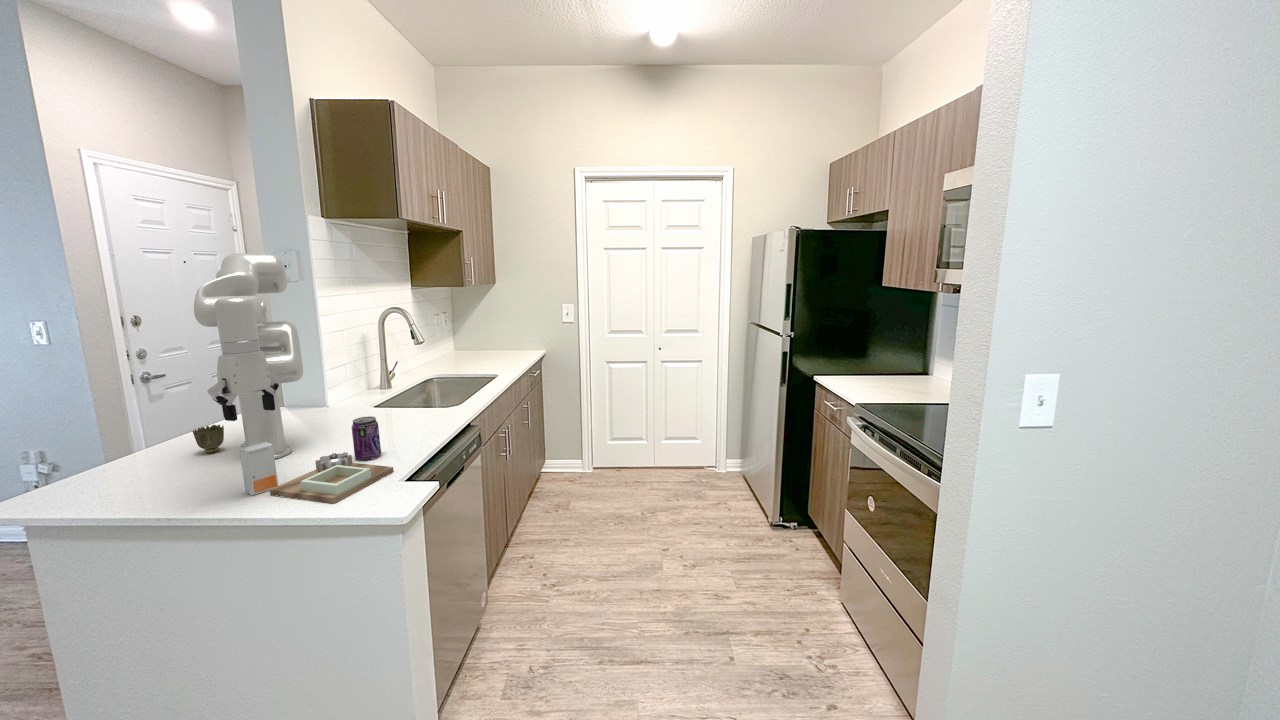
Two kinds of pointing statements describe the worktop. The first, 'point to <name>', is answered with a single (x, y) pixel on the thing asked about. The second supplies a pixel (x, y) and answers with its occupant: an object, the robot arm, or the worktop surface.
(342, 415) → the worktop surface
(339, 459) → the sun gear
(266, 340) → the robot arm
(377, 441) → the beverage can
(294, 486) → the carrier plate
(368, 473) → the green square frame
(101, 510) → the worktop surface
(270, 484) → the skincare box
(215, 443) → the cup
